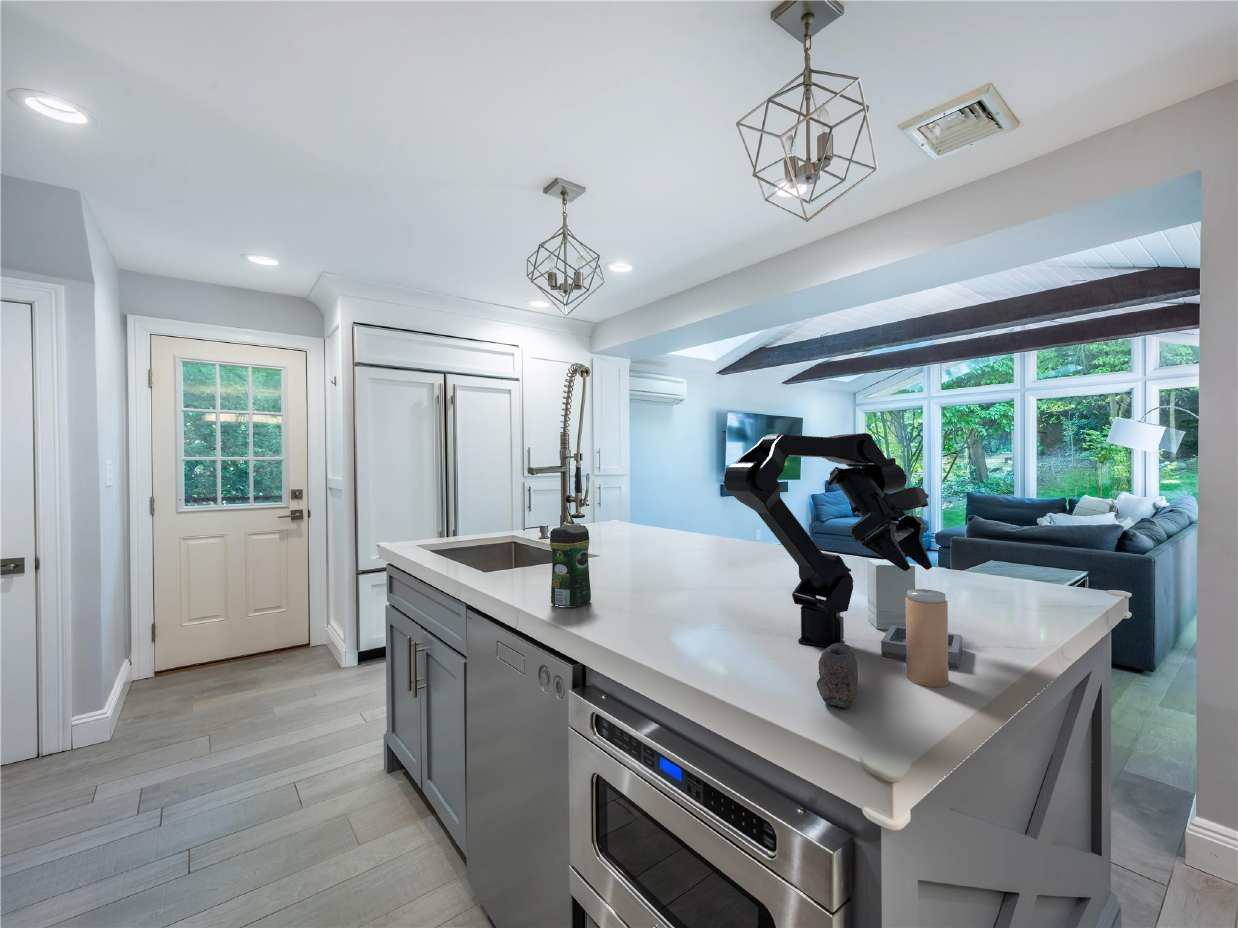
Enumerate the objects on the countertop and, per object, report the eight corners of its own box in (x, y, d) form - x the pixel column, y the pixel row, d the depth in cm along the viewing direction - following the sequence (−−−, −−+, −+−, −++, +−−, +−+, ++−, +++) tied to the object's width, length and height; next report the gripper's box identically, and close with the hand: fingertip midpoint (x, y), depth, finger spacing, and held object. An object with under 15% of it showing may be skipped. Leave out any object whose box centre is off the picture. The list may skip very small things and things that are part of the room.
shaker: (904, 682, 83) (903, 594, 83) (909, 670, 87) (907, 587, 87) (947, 690, 79) (945, 598, 79) (950, 677, 84) (948, 591, 84)
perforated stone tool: (825, 673, 87) (824, 628, 87) (862, 678, 85) (861, 632, 85) (813, 711, 73) (812, 658, 73) (856, 719, 71) (855, 664, 71)
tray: (881, 655, 94) (881, 641, 94) (891, 638, 103) (891, 625, 103) (957, 668, 88) (957, 652, 88) (961, 649, 97) (961, 634, 97)
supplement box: (917, 631, 107) (916, 565, 107) (875, 629, 109) (874, 564, 109) (905, 620, 114) (904, 559, 114) (866, 619, 116) (866, 558, 116)
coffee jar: (569, 597, 138) (568, 522, 138) (596, 601, 134) (595, 524, 134) (544, 606, 130) (543, 526, 130) (571, 610, 126) (570, 528, 126)
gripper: (877, 464, 94) (938, 542, 86) (922, 474, 106) (979, 543, 98) (827, 503, 100) (880, 580, 92) (875, 508, 112) (925, 576, 104)
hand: (919, 569), depth 96 cm, fingers open, 9 cm apart
